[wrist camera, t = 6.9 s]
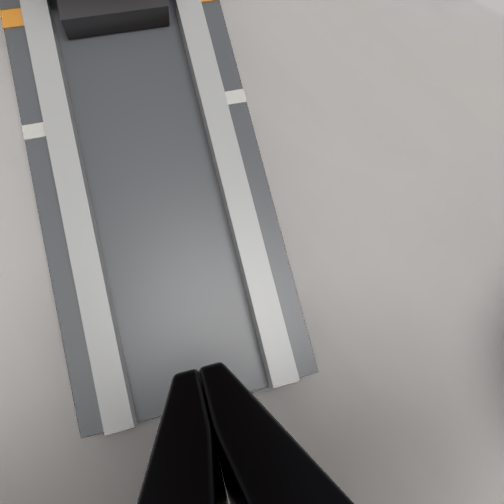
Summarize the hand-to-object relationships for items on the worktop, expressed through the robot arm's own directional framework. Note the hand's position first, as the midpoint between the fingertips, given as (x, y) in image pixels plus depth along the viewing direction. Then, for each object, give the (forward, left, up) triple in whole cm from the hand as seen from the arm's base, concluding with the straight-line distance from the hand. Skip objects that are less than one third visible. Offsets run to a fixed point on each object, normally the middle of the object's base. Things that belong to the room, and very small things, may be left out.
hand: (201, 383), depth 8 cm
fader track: (+6, +6, -12) cm, 14 cm away
